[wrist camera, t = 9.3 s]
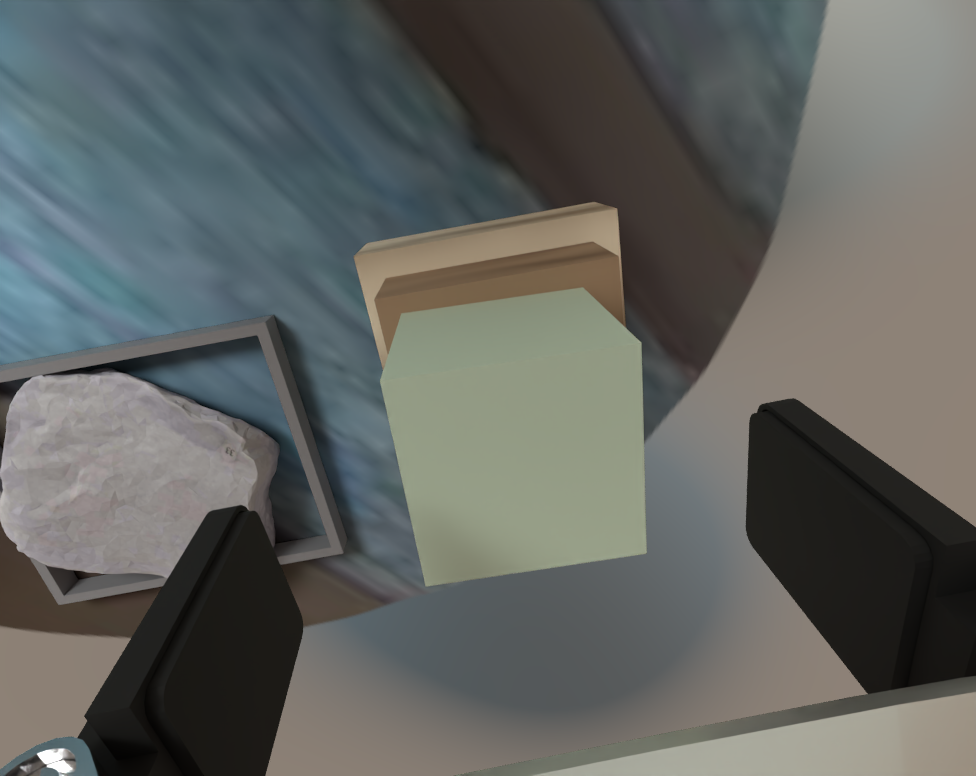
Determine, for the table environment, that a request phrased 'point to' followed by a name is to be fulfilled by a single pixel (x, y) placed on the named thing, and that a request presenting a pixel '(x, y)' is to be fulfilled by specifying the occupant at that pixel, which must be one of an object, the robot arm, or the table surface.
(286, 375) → the tray rim
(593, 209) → the beech block
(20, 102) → the table surface
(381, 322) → the walnut block
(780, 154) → the table surface
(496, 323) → the green cube
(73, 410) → the stone block
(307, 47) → the table surface
